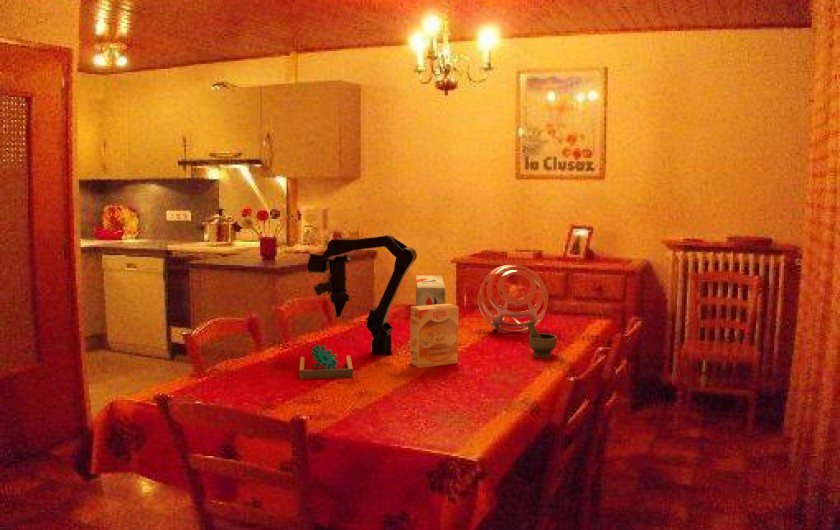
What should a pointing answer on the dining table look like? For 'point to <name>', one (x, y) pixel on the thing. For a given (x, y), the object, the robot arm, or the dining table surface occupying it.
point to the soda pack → (429, 290)
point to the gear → (324, 357)
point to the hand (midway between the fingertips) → (338, 317)
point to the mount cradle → (326, 371)
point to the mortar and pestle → (541, 341)
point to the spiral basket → (513, 299)
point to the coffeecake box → (434, 335)
